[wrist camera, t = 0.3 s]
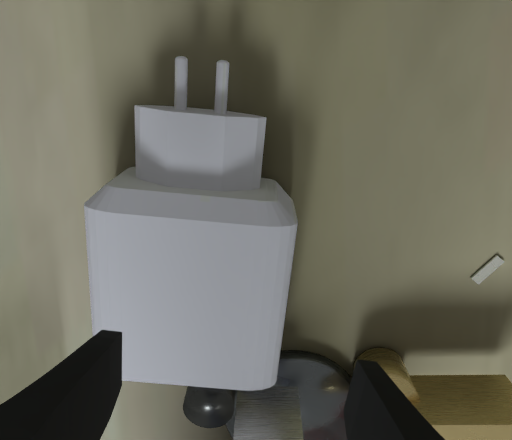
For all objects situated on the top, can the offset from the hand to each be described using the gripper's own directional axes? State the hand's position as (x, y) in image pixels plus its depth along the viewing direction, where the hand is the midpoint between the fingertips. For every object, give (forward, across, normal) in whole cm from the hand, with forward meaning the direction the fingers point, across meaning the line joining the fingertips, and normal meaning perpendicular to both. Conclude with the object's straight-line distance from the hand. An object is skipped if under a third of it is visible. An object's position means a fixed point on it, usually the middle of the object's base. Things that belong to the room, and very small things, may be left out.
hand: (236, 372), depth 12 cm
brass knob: (+10, -11, +7) cm, 17 cm away
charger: (+10, +3, -1) cm, 11 cm away
